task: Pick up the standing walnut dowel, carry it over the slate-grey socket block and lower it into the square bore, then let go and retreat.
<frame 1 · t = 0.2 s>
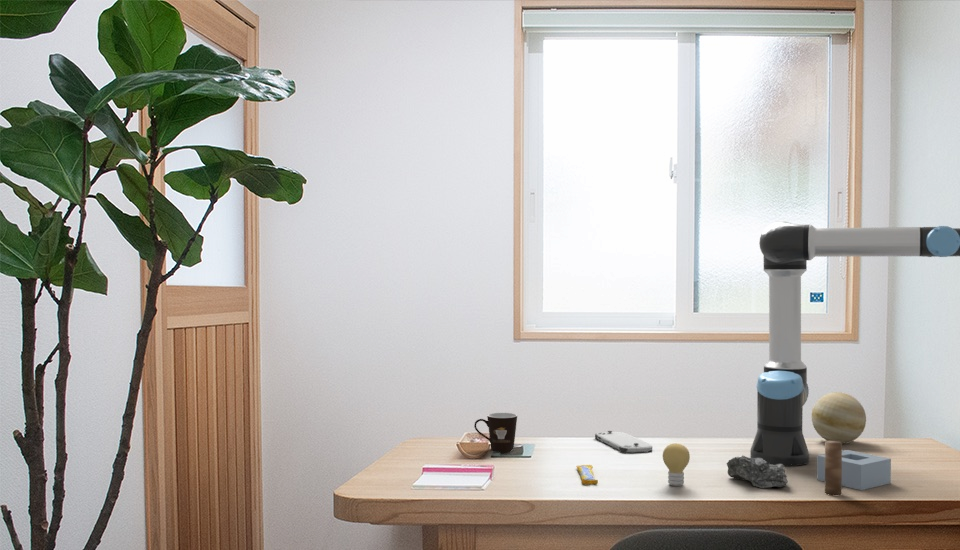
decorative ball: (838, 443, 263), on the table
rock: (758, 484, 216), on the table
candy bar: (587, 479, 223), on the table
coffee mug: (497, 450, 255), on the table
socket: (853, 481, 218), on the table
light bulb: (676, 485, 215), on the table
handheld gaming console: (623, 446, 261), on the table
peg: (833, 493, 207), on the table
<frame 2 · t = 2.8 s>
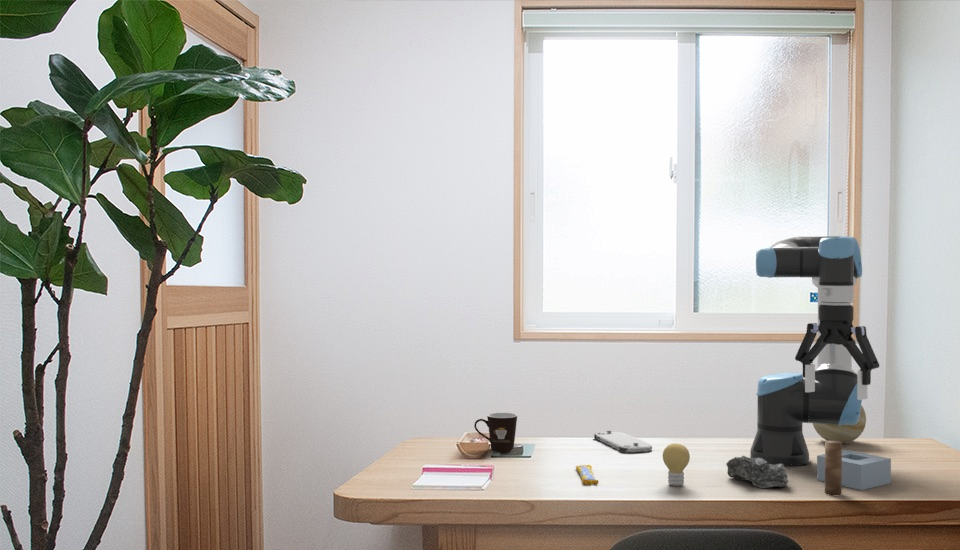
hand: (835, 395, 206), 23 cm above the table, fingers open, 13 cm apart
nothing on the table moved.
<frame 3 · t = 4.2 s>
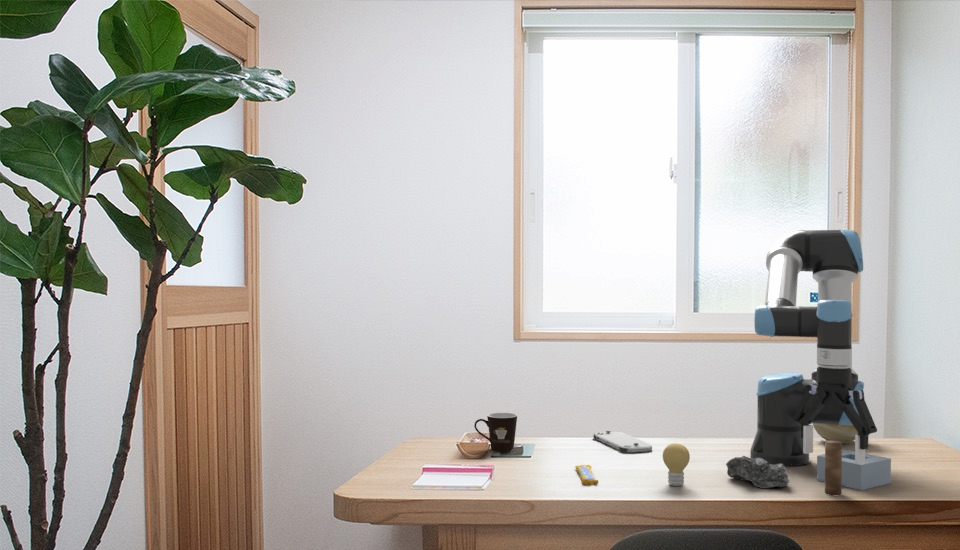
hand: (833, 458, 206), 8 cm above the table, fingers open, 13 cm apart
nothing on the table moved.
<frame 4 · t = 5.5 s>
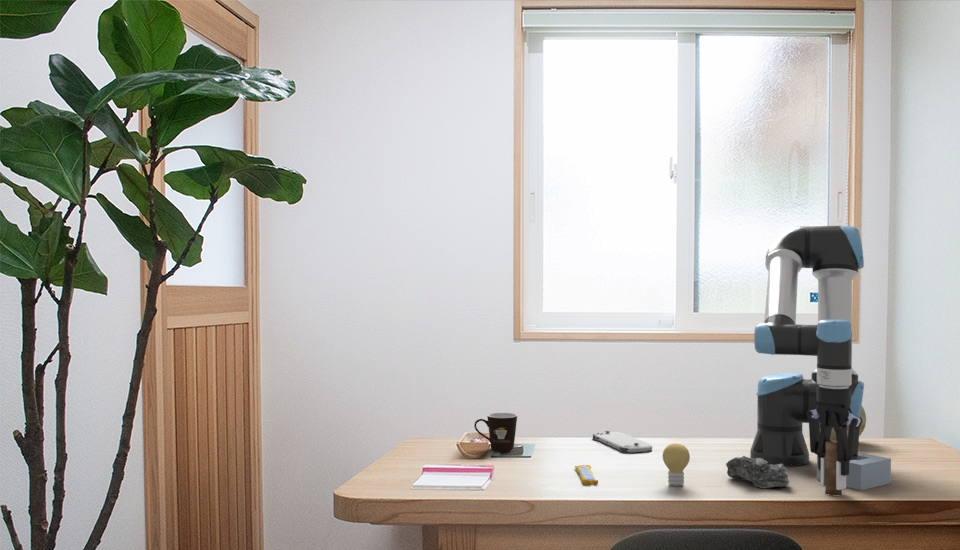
hand: (833, 486, 206), 2 cm above the table, fingers closed on peg, 3 cm apart
peg: (833, 493, 206), on the table, touching gripper
everything else where it was.
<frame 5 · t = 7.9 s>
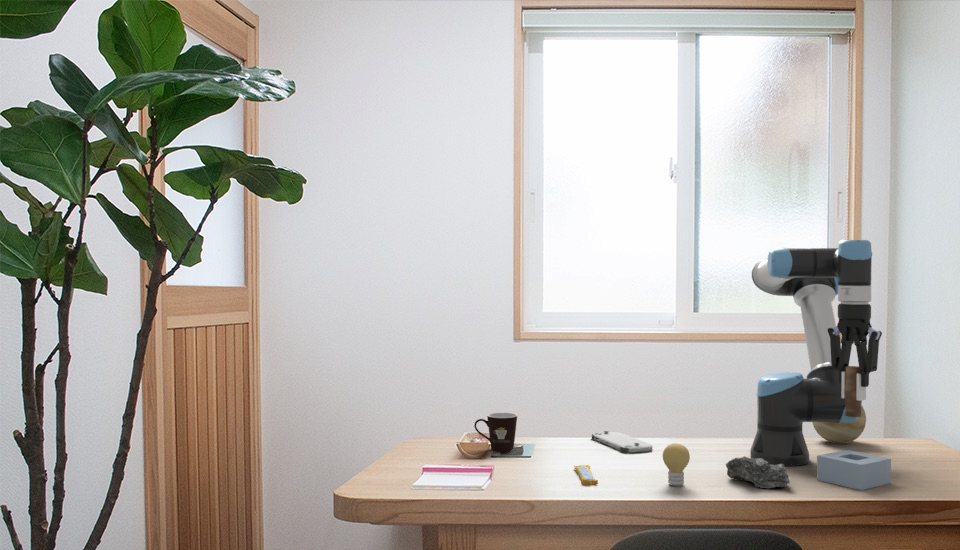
hand: (853, 398, 217), 20 cm above the table, fingers closed on peg, 3 cm apart
peg: (853, 415, 217), point 16 cm above the table, touching gripper
everything else where it was.
when the fingers open (7 cm above the table, at t = 10.1 s): peg drops 2 cm, resting on socket.
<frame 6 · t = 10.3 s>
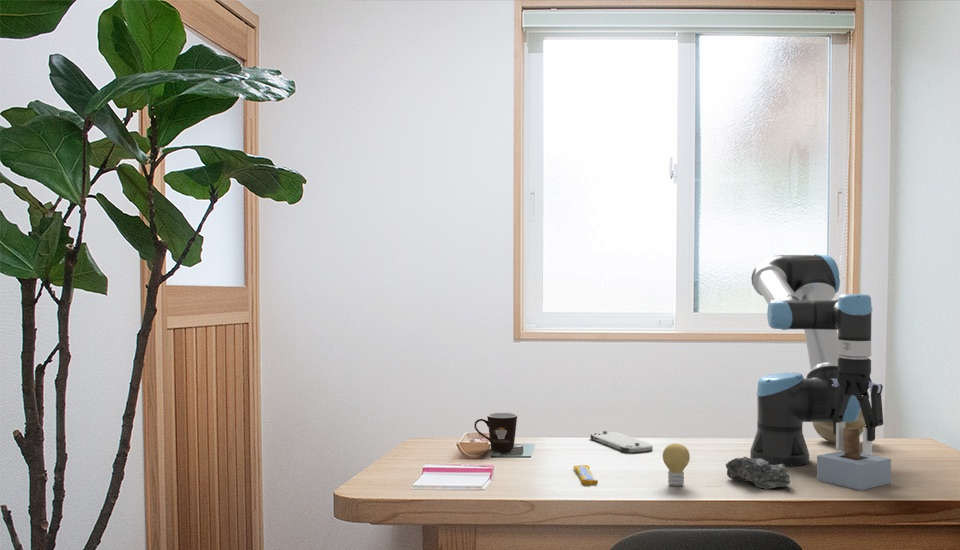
hand: (853, 451, 217), 7 cm above the table, fingers open, 7 cm apart
peg: (853, 477, 218), point 1 cm above the table, touching socket
everything else where it was.
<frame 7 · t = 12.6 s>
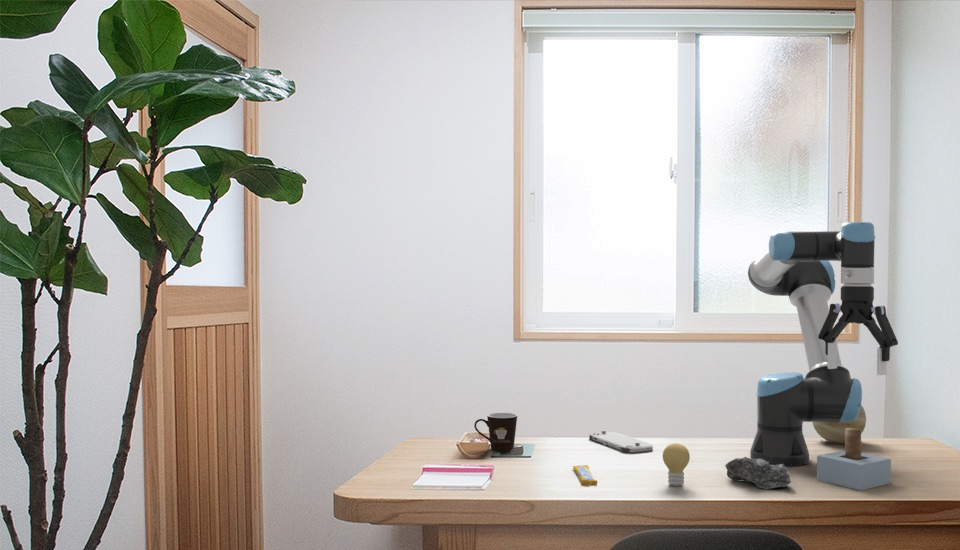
hand: (856, 371, 218), 27 cm above the table, fingers open, 13 cm apart
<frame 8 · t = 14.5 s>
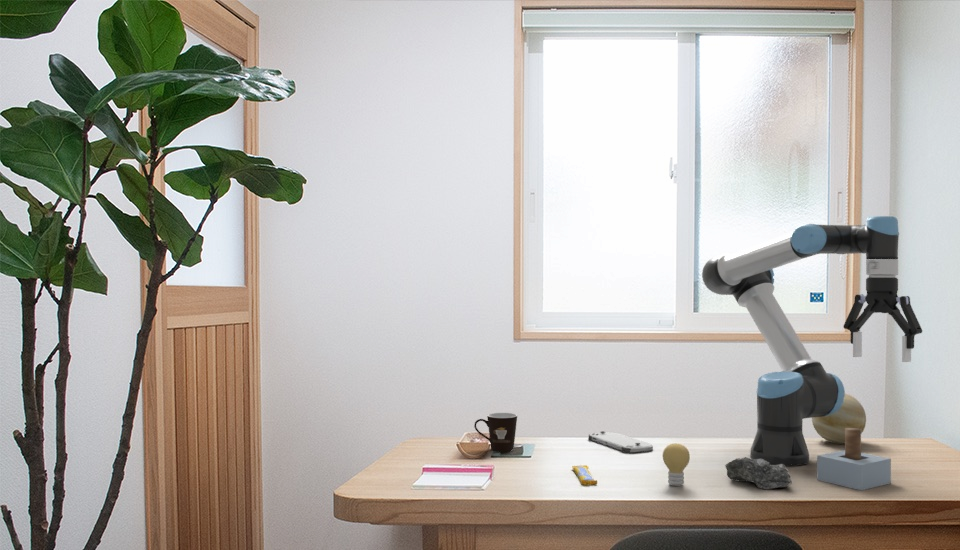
hand: (881, 359, 228), 29 cm above the table, fingers open, 13 cm apart
at the end: peg 0.1 cm off-centre on the socket, point 0.8 cm above the socket's base; peg tilted 1°; the gripper is holding nothing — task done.
